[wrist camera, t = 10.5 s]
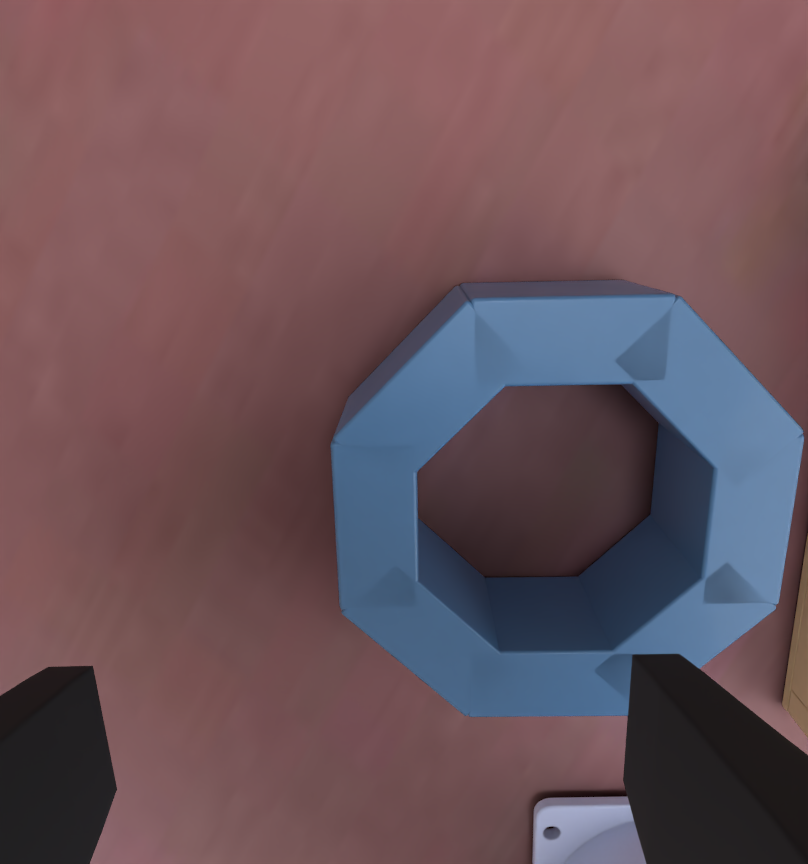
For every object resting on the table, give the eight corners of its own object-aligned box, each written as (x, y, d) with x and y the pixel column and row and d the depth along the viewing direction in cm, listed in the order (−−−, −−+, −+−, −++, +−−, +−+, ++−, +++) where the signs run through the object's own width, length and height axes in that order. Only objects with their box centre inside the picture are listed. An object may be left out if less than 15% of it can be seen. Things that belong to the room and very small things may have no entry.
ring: (702, 630, 19) (762, 716, 16) (357, 634, 20) (344, 719, 16) (745, 276, 17) (829, 290, 13) (340, 285, 17) (322, 300, 13)
